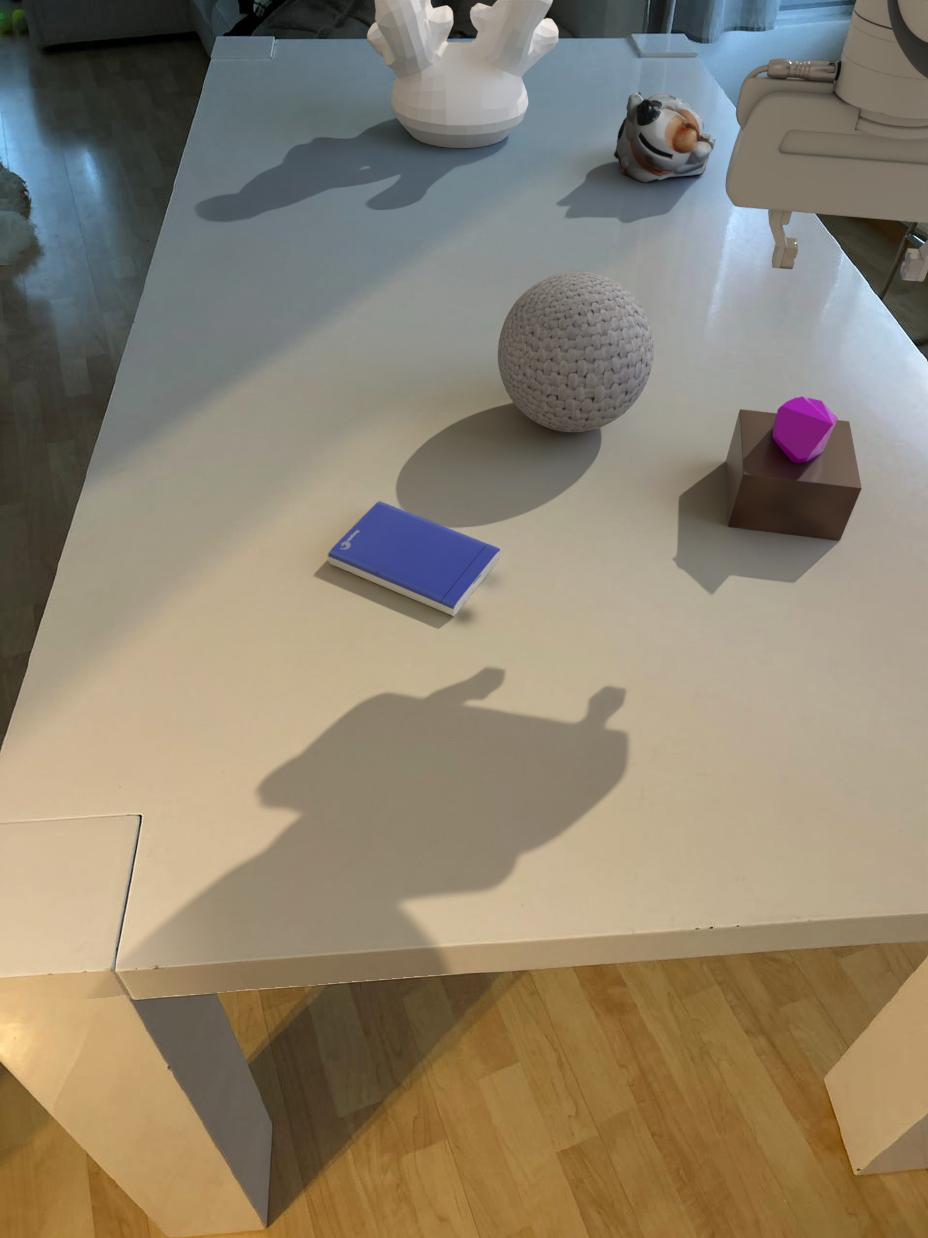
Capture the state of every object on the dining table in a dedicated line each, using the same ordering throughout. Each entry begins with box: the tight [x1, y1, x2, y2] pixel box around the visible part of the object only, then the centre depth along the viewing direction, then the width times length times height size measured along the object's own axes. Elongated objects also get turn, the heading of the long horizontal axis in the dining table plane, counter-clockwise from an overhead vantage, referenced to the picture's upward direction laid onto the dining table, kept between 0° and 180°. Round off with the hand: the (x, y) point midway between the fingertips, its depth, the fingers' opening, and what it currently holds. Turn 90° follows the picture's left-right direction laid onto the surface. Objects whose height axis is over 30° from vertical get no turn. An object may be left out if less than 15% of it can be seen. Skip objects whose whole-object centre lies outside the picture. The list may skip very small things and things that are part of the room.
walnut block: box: [725, 408, 863, 541], centre depth 87 cm, size 10×10×6 cm
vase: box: [366, 0, 559, 149], centre depth 138 cm, size 29×22×35 cm
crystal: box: [773, 395, 839, 463], centre depth 83 cm, size 5×5×5 cm
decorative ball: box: [497, 271, 654, 433], centre depth 92 cm, size 15×15×15 cm
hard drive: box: [327, 500, 501, 617], centre depth 82 cm, size 2×8×12 cm
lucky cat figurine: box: [613, 91, 716, 184], centre depth 136 cm, size 15×12×14 cm
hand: (845, 271), depth 71 cm, fingers open, 8 cm apart
